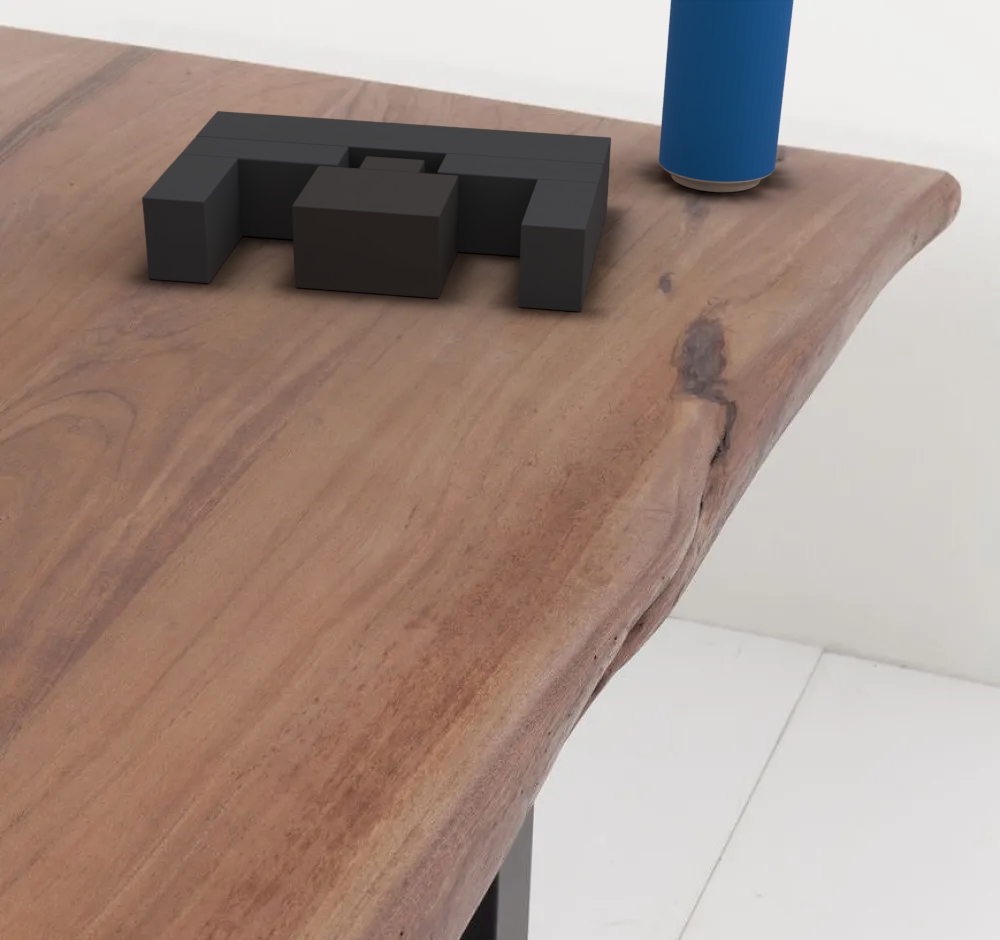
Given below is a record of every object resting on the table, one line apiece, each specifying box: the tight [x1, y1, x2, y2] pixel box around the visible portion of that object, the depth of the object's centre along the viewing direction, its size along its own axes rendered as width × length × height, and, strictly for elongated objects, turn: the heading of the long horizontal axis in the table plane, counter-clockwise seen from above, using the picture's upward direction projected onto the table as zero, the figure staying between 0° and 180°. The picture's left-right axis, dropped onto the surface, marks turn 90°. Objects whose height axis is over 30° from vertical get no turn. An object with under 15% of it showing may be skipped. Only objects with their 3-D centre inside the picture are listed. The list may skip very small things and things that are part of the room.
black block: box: [292, 156, 458, 299], centre depth 92 cm, size 7×8×4 cm
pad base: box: [141, 110, 612, 312], centre depth 94 cm, size 21×14×4 cm, turn 82°
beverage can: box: [658, 0, 795, 193], centre depth 102 cm, size 6×6×12 cm
